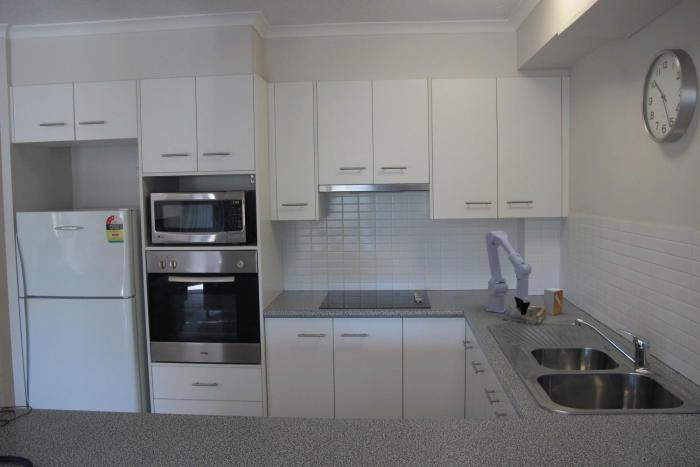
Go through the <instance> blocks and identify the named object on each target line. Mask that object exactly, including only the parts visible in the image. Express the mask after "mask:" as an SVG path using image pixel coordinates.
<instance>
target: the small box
mask: <svg viewBox="0 0 700 467" xmlns="http://www.w3.org/2000/svg"><path fill="white" fill-rule="evenodd" d="M563 297H564V289H562V288H556V287H551V288H544V290H543V307H544V308H546V315H551V316H555V315H558V314H562V313H563V299H564V298H563Z"/></svg>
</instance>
